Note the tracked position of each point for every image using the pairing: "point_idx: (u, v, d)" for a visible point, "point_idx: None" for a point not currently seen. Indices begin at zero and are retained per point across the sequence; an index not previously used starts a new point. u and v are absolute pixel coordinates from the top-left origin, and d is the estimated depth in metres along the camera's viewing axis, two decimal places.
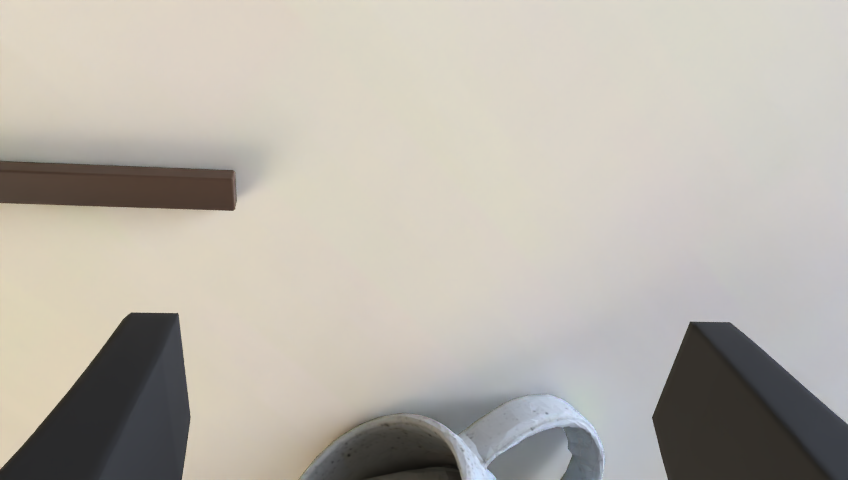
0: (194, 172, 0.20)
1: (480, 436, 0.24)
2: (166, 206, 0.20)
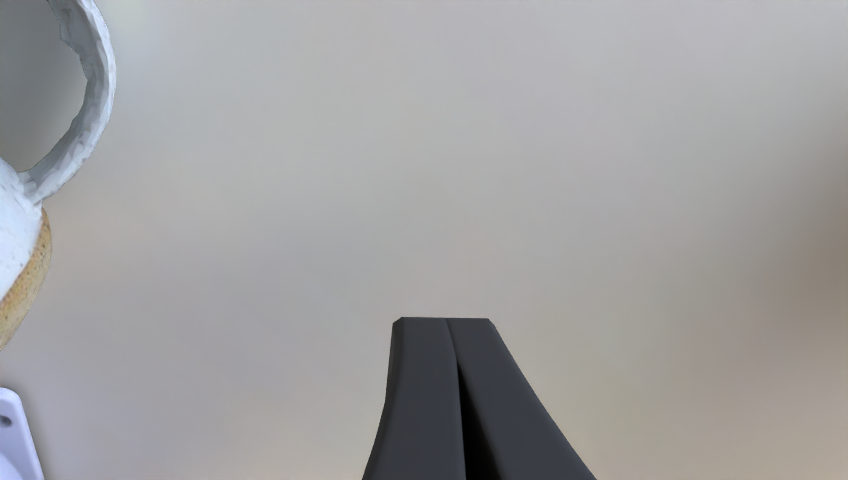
0: None
1: None
2: None
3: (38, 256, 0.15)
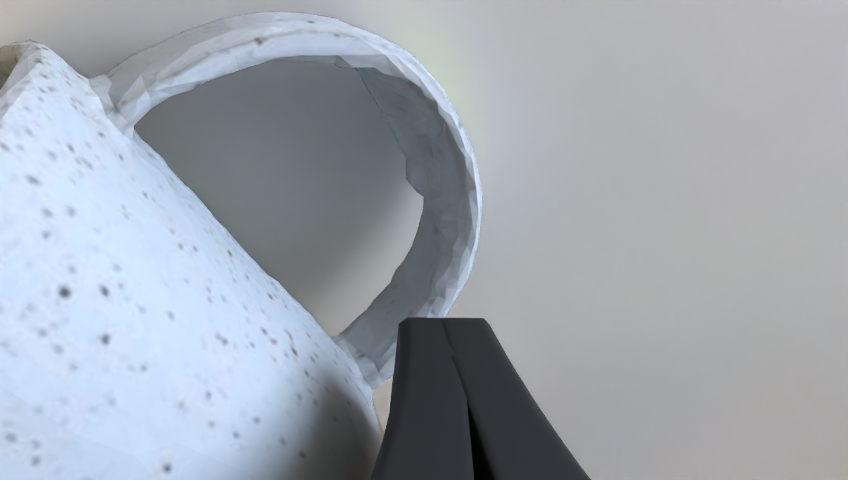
0: None
1: (131, 67, 0.09)
2: None
3: None
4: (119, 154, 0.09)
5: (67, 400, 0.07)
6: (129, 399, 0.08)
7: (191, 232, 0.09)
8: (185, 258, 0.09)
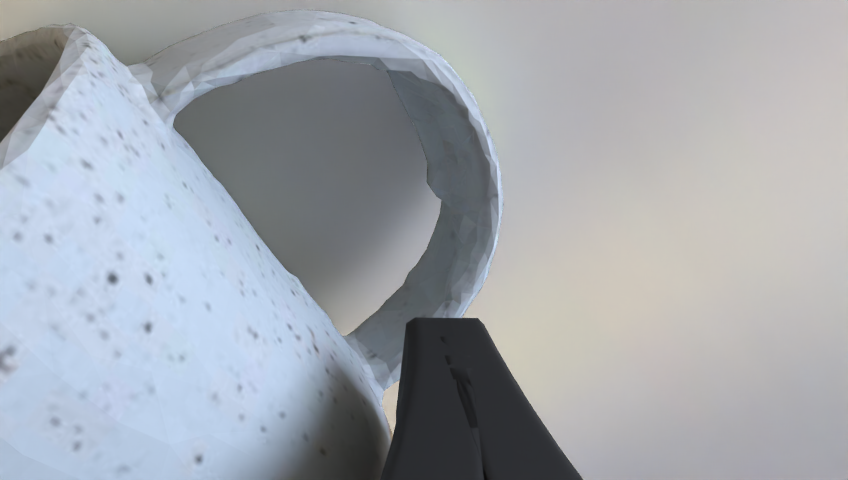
0: None
1: (172, 57, 0.09)
2: None
3: None
4: (161, 143, 0.09)
5: (109, 387, 0.07)
6: (167, 388, 0.08)
7: (225, 225, 0.09)
8: (220, 250, 0.09)
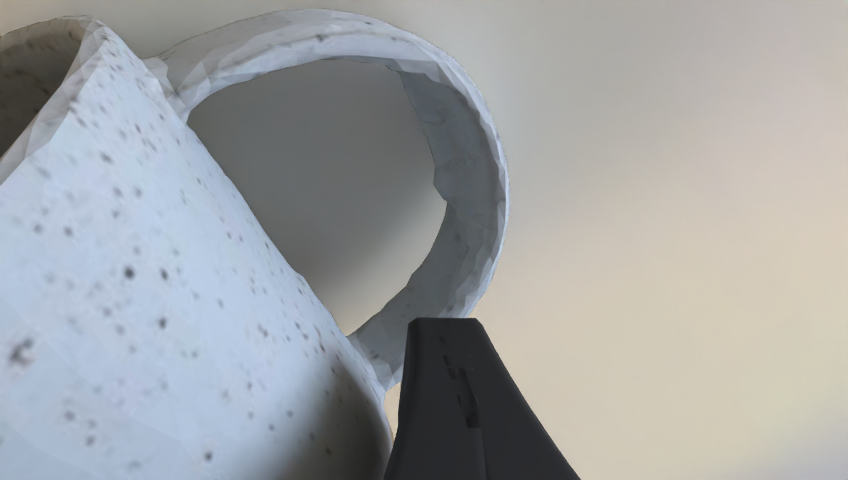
0: None
1: (187, 52, 0.09)
2: None
3: None
4: (176, 138, 0.09)
5: (123, 381, 0.07)
6: (180, 385, 0.08)
7: (236, 222, 0.09)
8: (233, 247, 0.09)
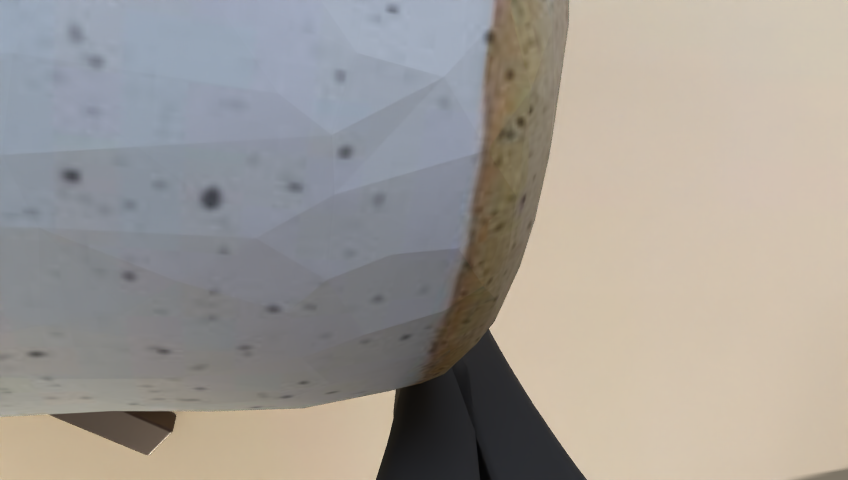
0: None
1: None
2: None
3: None
4: None
5: None
6: None
7: None
8: None
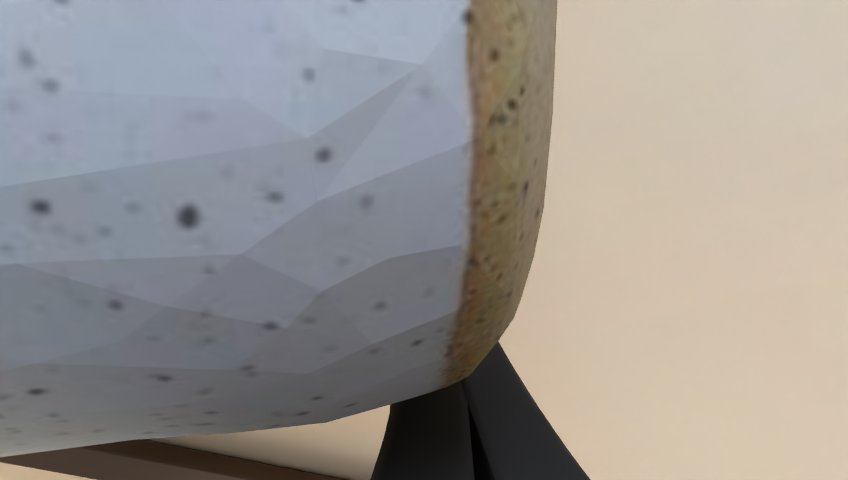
0: None
1: None
2: None
3: None
4: None
5: None
6: None
7: None
8: None
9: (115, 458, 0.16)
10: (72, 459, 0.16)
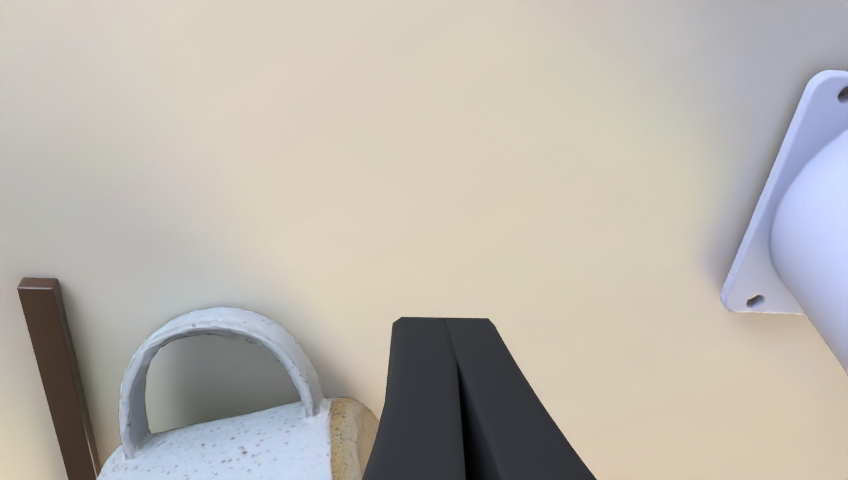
0: (26, 308, 0.23)
1: None
2: (60, 334, 0.23)
3: (336, 439, 0.22)
4: (135, 467, 0.23)
5: None
6: None
7: (175, 460, 0.23)
8: (171, 475, 0.22)
9: None
10: None
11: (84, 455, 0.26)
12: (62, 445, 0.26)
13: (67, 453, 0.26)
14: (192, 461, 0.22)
